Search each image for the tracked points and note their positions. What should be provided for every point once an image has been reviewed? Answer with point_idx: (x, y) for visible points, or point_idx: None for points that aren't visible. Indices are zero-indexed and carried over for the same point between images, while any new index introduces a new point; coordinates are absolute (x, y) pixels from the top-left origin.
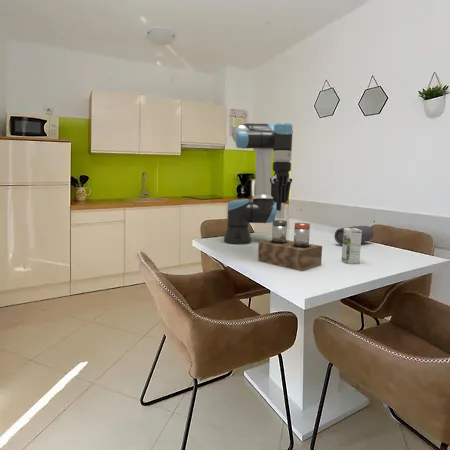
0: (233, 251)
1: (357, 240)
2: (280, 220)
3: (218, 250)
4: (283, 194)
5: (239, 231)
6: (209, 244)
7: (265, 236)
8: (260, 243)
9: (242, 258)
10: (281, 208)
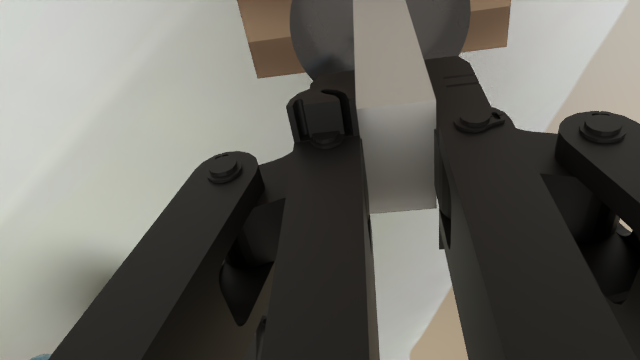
0: (401, 220)
1: None
2: (335, 54)
3: (441, 261)
4: (366, 271)
5: (255, 354)
6: (383, 340)
7: (54, 341)
8: (507, 25)
9: (491, 94)
10: (420, 60)
